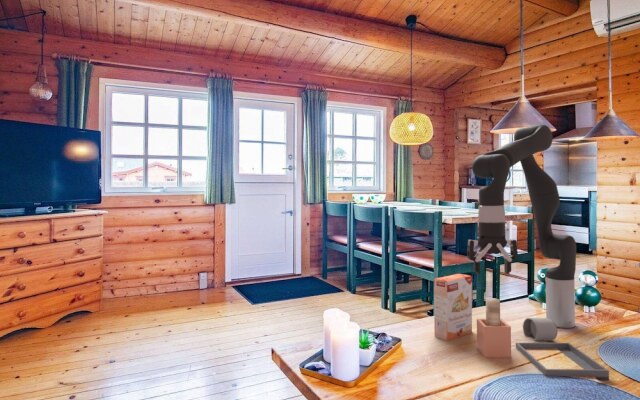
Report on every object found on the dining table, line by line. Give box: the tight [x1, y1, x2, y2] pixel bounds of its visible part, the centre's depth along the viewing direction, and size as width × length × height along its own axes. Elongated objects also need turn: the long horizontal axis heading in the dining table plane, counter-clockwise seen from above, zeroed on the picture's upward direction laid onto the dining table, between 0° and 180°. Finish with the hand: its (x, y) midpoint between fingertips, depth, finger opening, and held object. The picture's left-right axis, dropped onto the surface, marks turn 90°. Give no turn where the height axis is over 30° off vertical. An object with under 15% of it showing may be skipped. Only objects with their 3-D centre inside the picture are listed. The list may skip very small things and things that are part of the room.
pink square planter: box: [476, 318, 512, 358], centre depth 126 cm, size 8×8×10 cm
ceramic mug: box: [522, 317, 558, 342], centre depth 139 cm, size 11×8×8 cm
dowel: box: [485, 297, 501, 326], centre depth 125 cm, size 4×4×16 cm
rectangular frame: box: [515, 342, 610, 381], centre depth 118 cm, size 20×16×2 cm
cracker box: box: [433, 273, 473, 342], centre depth 142 cm, size 14×6×21 cm, turn 126°
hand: (492, 273), depth 125 cm, fingers open, 8 cm apart
